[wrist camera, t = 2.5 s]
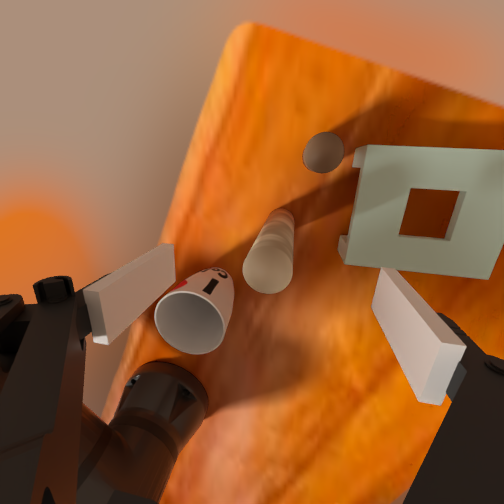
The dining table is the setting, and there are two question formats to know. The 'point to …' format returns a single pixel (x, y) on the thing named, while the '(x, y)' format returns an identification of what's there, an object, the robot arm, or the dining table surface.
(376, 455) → the dining table surface
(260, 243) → the long pin
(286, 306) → the dining table surface
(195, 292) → the cup
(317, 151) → the short pin
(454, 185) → the bridge
